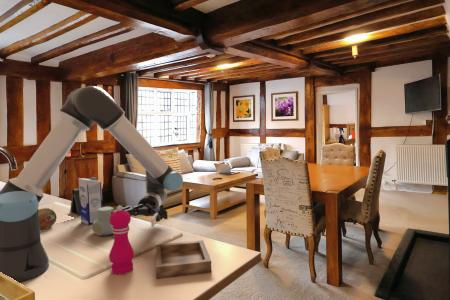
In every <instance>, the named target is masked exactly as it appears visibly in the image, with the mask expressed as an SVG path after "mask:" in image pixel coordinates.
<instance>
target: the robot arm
mask: <svg viewBox="0 0 450 300" xmlns="http://www.w3.org/2000/svg"><path fill="white" fill-rule="evenodd" d="M125 112H126V111H124V109H123V108H122V107H121V106H120V105H119V104H118V103H117V101H116V100H115V99H114V97H112V96H111V95H110V93H108V92H107V91H106V90H104V89H103V88H101V87H99V86H95V85H88V86H85V87H78V88H76V89H74V90H72V91H71V92H70V93H68V95H67V97H66V99H65V103H64V104H63V106H62V107H61V108H60V110H59V111H58V115H59V119H58V121H57V122H55V125H54V126H53V127H52V129H51V130H50V132H49V133H47V136H46V137H45V138H44V139H43V141H42V142H41V144H39V147H38V148H37V149H36V151H35V152H34V153H33V155H32V156H31V158H30V159H29V160H28V161H27V163H26V164H25V166H24V167H23V169H22V170H21V171H20V172H19V174H18V176H16V177H14V178H13V177H12V178H10V179H8V180H7V182H6V183H5V185H3V187H2V188H1V189H0V272H2V273H3V274H5V275H7V276H9V277H11V278H13V279H14V280H16V281H18V282H17V283H20V282H21V283H22V282H25V281H27V280H28V281H29V280H31V279H33V278H36V277H38V276H39V275H42V274H43V273H45V271H47V270H48V269H49V266H50V263H49V262H50V259H49V257H48V254H47V252H46V249H45V248H44V246H43V244H42V241H41V230H40V226H39V213H38V209H39V204H40V202H41V200H42V199H43V198H44V191H43V190H44V188H45V186H46V185H47V184H48V182H49V180H50V179H51V177H52V176H53V175H54V173H56V170H57V169H58V167H60V165H61V163H62V162H63V161H64V159H65V158H66V156H67V154H68V153H69V152H70V151H71V149H72V148H73V146H74V145H75V143H76V142H77V140H78V139H79V137H80V136H81V134H82V133H83V132H87V131H89V130H90V129H91V128H92V127H93V125H94V124H95V125H97V126H98V127H100V129H101V130H102V131H107V132H109V134H110V135H111V136H112V137H113V138H115V140H117V142H118V143H119V144H120V145H121V146H122V147H123V148H124V149H125V150H126V151H127V152H128V154H130V155H131V156H132V158H134V159H135V160H136V162H137V163H139V164H140V165H141V166H142V167H143V169H144V170H145V171H144V172H145V181H146V182H145V183H146V195H144V196H143V197H142V198H141V199H140V200H139V201H138V203H137V205H133V206H132V205H131V204H128V205H127V206H124V207H123V206H122V207H123V210H125V211H127V212H128V213H129V214H130V217H136V216H144V217H151V219H150V224H151V225H150V227H151V228H154V227H155V225H156V224H157V223H158V222H161V221H162V220H163V219H164V220H168V211H167V210H166V208H165V207H164V203H165V201H166V199H167V198H168V197H167V196H168V194H167V191H171V192H174V191H175V192H176V191H178V190H180V189H181V187H182V186H183V184H184V178H183V176H182V174H181V173H180V172H178V171H177V170H174V169H173V168H172V167H171V165H169V163H167V162H166V160H164V158H163V157H162V156H161V155H160V154H159V153H158V151H157V150H156V149H155V148H154V147H153V145H151V144H150V143H149V142H148V140H147V139H146V138H145V137H144V136H143V135H142V134H141V133H140V131H139V130H137V129H136V127H135V126H134V125H133V123H131V121H130V120H129V119H128V118H127V117H126V116H125ZM166 190H167V191H166ZM115 211H117V209H116V210H115V209H114V210H113V211H112V212H111V214H112V213H113V212H115ZM111 227H113V226H112V225H111Z"/></svg>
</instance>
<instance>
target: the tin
mask: <svg viewBox="0 0 450 300" xmlns="http://www.w3.org/2000/svg"><path fill="white" fill-rule="evenodd" d="M38 213H39V226H40V231H41V230H45V229H46V230H47V229H49V228H51V227H52V226H54V224H55V223H56V221H57V214H56V212H55V211H54V210H53V209H51V208H49V207H48V208H47V207H44V208H38Z"/></svg>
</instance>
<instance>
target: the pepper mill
mask: <svg viewBox="0 0 450 300" xmlns="http://www.w3.org/2000/svg"><path fill="white" fill-rule="evenodd" d="M116 210H117V211H115V210H114V211H115V212H113V213H112V214H111V216H110V224H111V225H112V226H113V227H112V233H113V244H112V246H111V248H110V251H109V255H108V256H109V261H110V263H111V266H110V267H111V273H113V274H115V275H125V274H129V273H130V272H132V271H133V269H134V261H133V260H134V258H135V250H134V248H133V246H132V243H131V242H130V240H129V232H130V225H129V224H130V223H131V221H132V219H131V218H132V216H130V214H129V213H128V212H127V211H125V210H123V205H120V204H119V205H118V206H116Z"/></svg>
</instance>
